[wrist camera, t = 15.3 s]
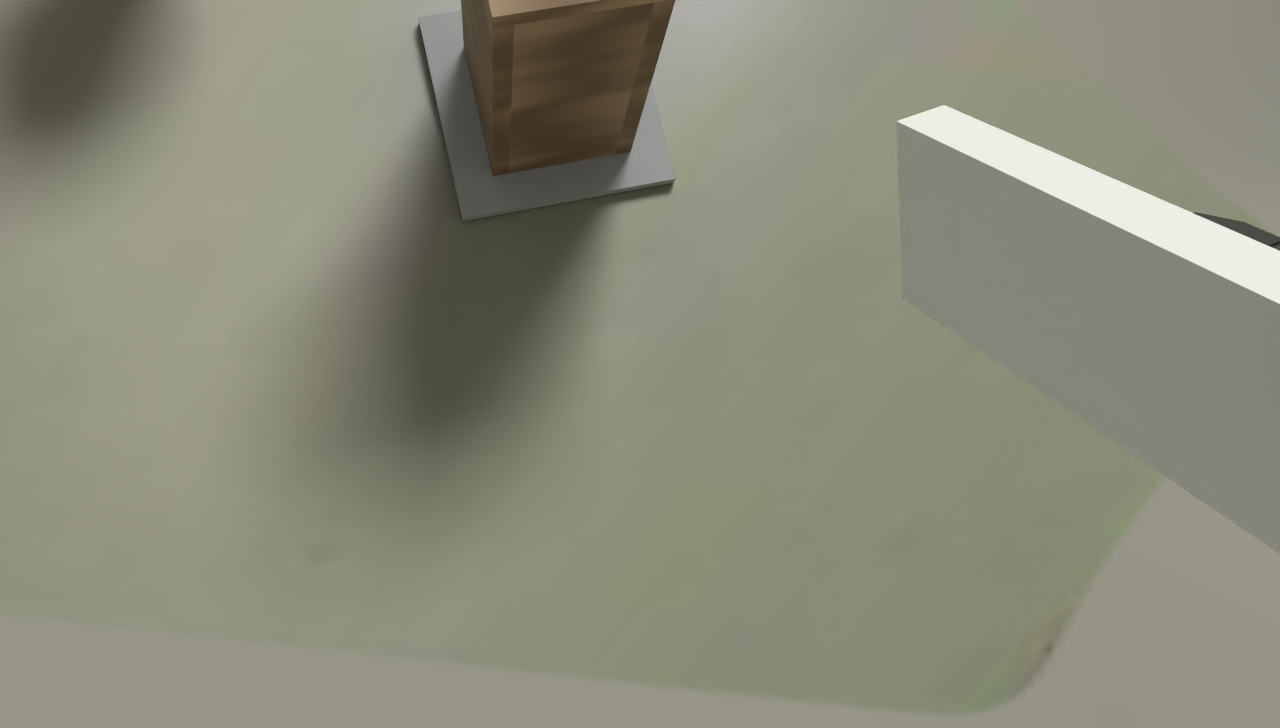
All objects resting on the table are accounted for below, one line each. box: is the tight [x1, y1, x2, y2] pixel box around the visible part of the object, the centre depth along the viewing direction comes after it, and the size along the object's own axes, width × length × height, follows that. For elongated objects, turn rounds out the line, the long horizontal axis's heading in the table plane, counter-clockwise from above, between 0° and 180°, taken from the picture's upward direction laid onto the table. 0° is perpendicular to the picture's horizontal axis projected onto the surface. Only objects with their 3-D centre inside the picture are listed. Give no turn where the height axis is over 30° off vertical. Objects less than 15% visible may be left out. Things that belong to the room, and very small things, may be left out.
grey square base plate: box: [418, 11, 675, 221], centre depth 40 cm, size 8×8×7 cm
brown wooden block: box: [461, 0, 675, 176], centre depth 38 cm, size 5×5×12 cm
